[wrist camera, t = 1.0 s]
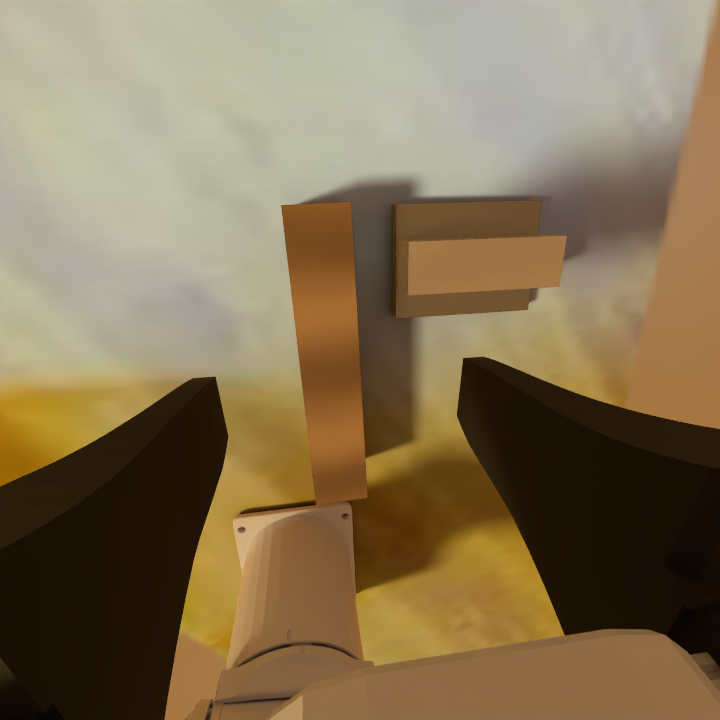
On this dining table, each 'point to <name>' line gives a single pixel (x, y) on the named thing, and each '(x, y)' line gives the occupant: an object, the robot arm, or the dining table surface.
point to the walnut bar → (328, 345)
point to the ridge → (470, 257)
